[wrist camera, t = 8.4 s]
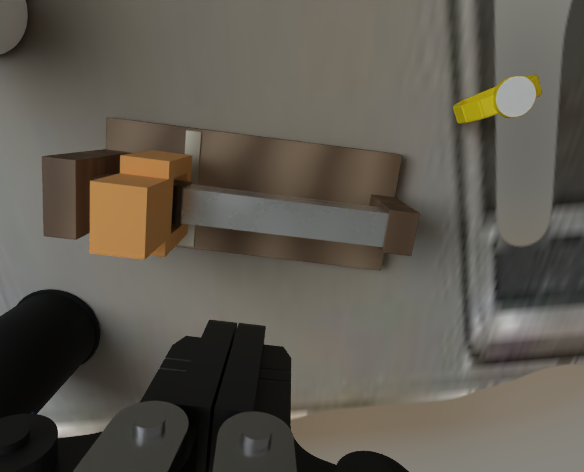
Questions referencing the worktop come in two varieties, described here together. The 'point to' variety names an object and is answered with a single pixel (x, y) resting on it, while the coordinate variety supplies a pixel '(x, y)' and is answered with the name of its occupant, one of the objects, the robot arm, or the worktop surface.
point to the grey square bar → (276, 214)
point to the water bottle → (12, 23)
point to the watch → (500, 100)
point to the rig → (241, 187)
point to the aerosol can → (42, 348)
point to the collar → (138, 206)
